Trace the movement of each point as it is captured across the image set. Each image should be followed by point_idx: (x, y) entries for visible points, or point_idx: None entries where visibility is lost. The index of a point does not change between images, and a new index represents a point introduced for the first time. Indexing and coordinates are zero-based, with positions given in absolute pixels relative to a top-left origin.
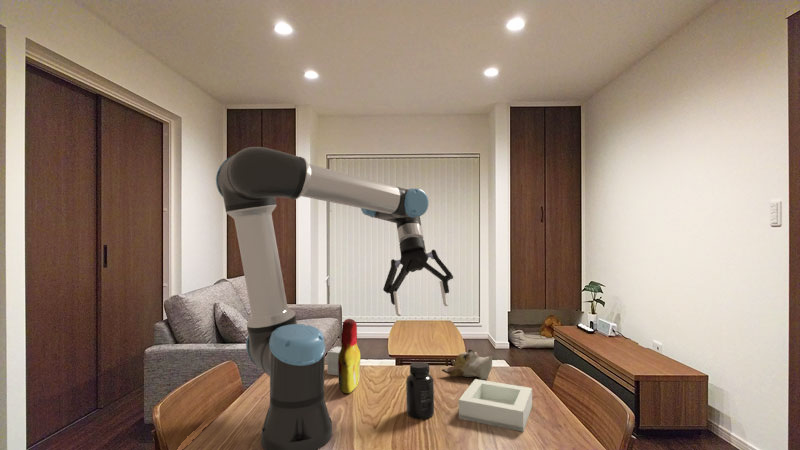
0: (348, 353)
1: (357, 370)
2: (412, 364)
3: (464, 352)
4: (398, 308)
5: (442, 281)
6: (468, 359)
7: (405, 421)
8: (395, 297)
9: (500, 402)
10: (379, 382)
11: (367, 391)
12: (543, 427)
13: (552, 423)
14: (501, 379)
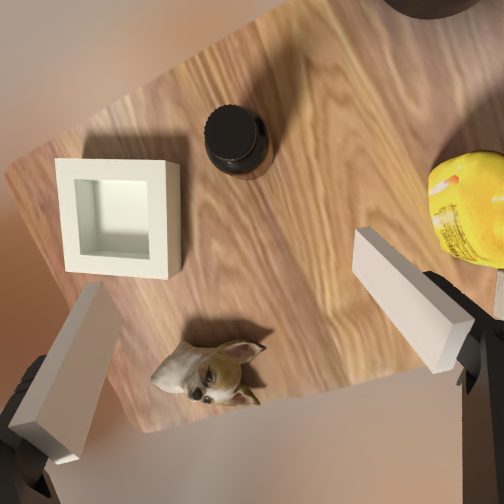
0: (501, 169)
1: (445, 205)
2: (249, 128)
3: (216, 398)
4: (369, 254)
5: (19, 432)
6: (201, 367)
7: (262, 111)
8: (423, 286)
9: (127, 242)
10: None
11: (395, 208)
12: None
13: (52, 210)
14: (158, 361)
